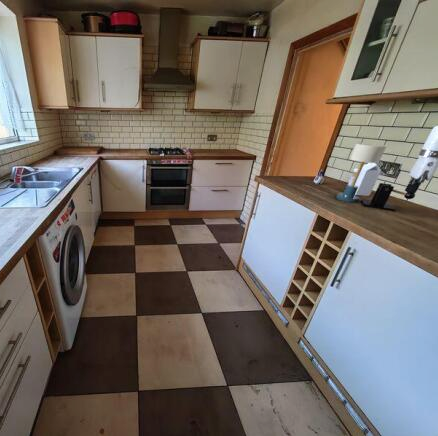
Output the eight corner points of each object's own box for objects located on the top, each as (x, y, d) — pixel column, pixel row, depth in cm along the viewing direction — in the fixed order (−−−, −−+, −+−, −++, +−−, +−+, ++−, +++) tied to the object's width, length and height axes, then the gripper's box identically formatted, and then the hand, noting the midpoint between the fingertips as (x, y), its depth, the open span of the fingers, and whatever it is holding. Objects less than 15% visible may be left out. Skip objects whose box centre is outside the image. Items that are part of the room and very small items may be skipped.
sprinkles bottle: (351, 188, 149) (359, 168, 143) (356, 190, 144) (366, 169, 139) (344, 188, 149) (352, 167, 143) (349, 190, 144) (358, 169, 139)
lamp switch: (409, 199, 115) (415, 192, 113) (412, 201, 112) (418, 194, 110) (378, 189, 119) (383, 183, 118) (380, 191, 117) (385, 184, 115)
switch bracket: (388, 205, 122) (400, 184, 116) (394, 211, 115) (406, 189, 110) (360, 201, 127) (369, 180, 122) (363, 206, 120) (373, 184, 115)
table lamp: (358, 198, 131) (382, 144, 118) (362, 204, 122) (389, 147, 109) (332, 194, 137) (353, 142, 124) (335, 200, 128) (357, 144, 115)
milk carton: (355, 195, 136) (369, 163, 128) (349, 191, 143) (362, 161, 135) (369, 196, 135) (384, 164, 127) (362, 192, 141) (376, 162, 133)
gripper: (451, 157, 97) (427, 198, 105) (435, 153, 109) (414, 189, 117) (426, 155, 100) (404, 194, 108) (413, 151, 112) (394, 186, 120)
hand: (409, 191), depth 112 cm, fingers closed
